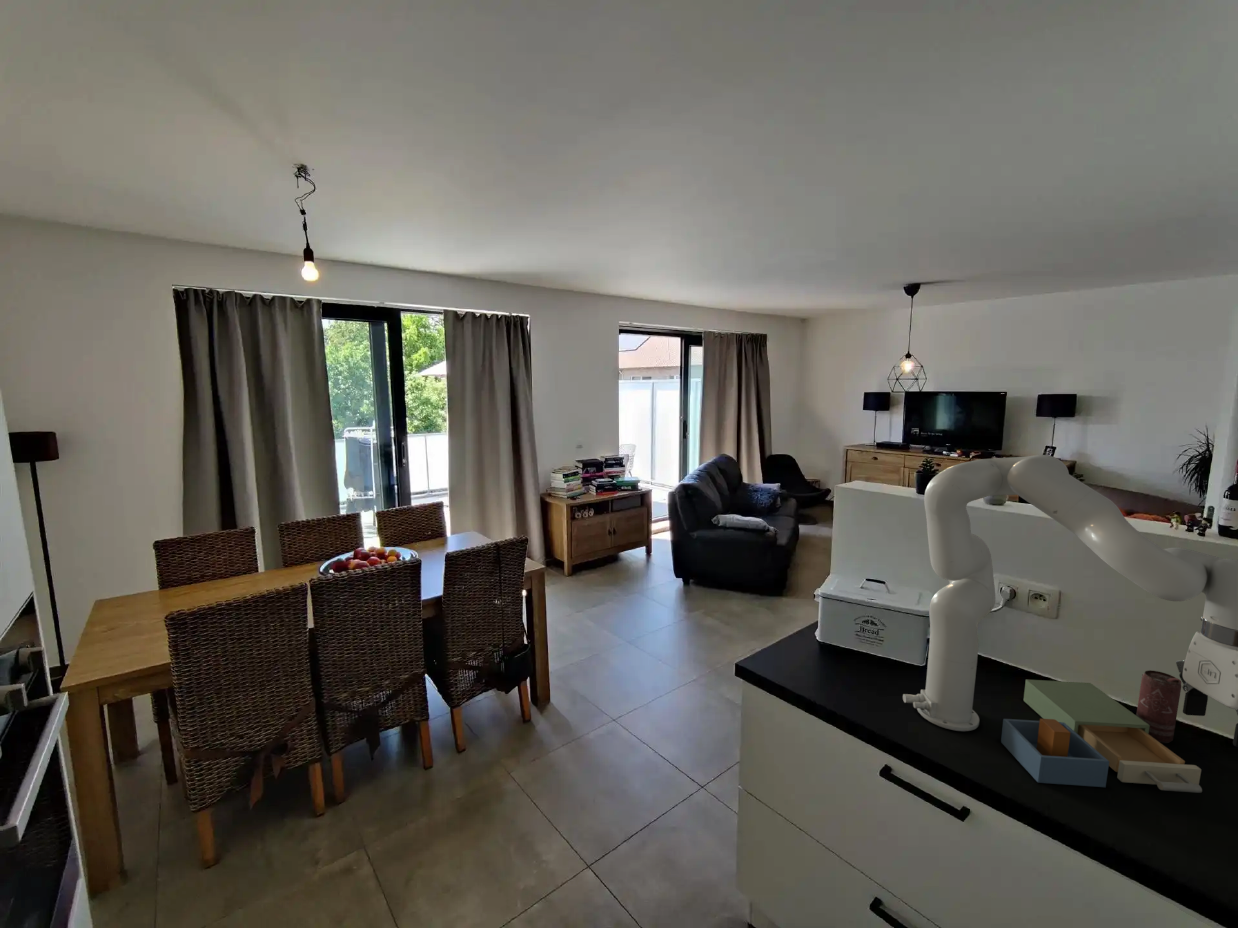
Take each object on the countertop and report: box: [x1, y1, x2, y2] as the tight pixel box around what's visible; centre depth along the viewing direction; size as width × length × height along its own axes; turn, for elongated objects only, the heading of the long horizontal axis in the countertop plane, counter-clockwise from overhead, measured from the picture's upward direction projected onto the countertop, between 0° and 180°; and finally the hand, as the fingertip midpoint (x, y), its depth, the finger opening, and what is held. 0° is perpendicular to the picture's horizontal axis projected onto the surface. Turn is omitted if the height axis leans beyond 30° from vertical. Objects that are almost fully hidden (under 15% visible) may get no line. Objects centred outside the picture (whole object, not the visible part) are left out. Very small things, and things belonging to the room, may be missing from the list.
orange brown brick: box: [1036, 718, 1070, 757], centre depth 110 cm, size 3×4×8 cm
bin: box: [1000, 718, 1110, 788], centre depth 110 cm, size 12×12×6 cm
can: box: [1135, 669, 1182, 744], centre depth 118 cm, size 6×6×14 cm
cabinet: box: [1023, 679, 1150, 734], centre depth 123 cm, size 17×15×6 cm
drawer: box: [1078, 725, 1203, 794], centre depth 109 cm, size 20×13×4 cm
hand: (1218, 729), depth 92 cm, fingers open, 8 cm apart
